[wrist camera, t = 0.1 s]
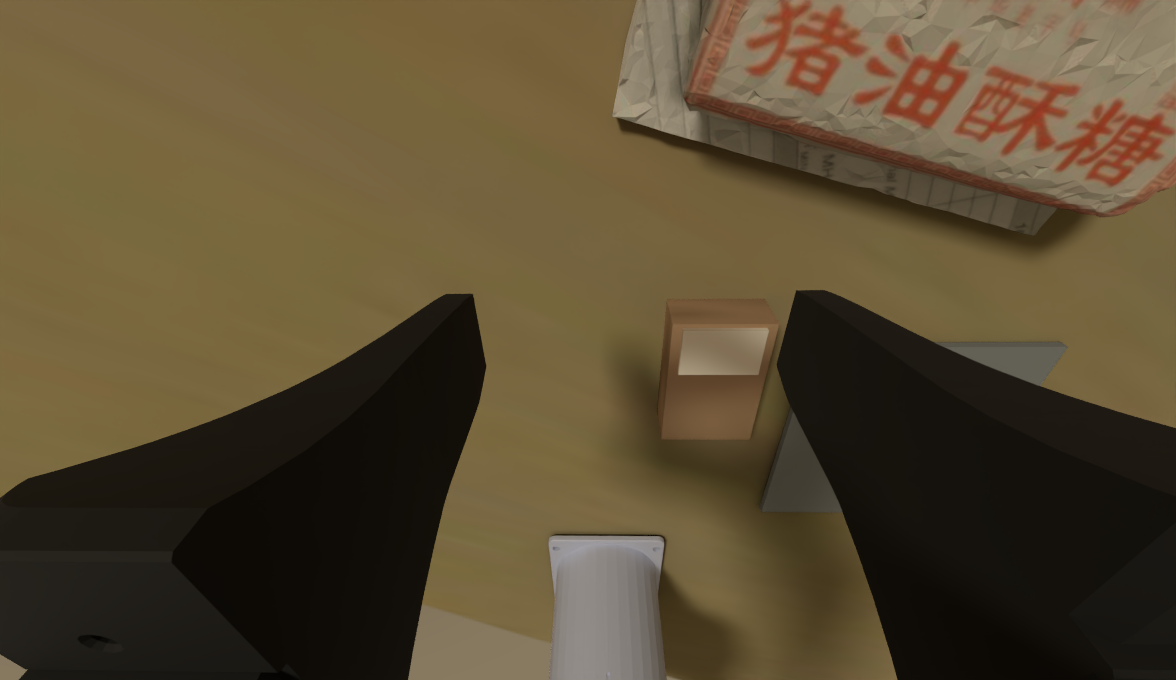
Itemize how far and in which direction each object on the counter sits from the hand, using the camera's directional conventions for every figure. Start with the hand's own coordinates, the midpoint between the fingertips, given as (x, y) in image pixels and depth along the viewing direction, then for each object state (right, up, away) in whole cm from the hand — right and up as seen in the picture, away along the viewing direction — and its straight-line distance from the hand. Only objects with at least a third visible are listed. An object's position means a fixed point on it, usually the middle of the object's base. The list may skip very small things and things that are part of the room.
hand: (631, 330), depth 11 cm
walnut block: (+5, -1, +13) cm, 14 cm away
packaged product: (+10, +11, +5) cm, 15 cm away
